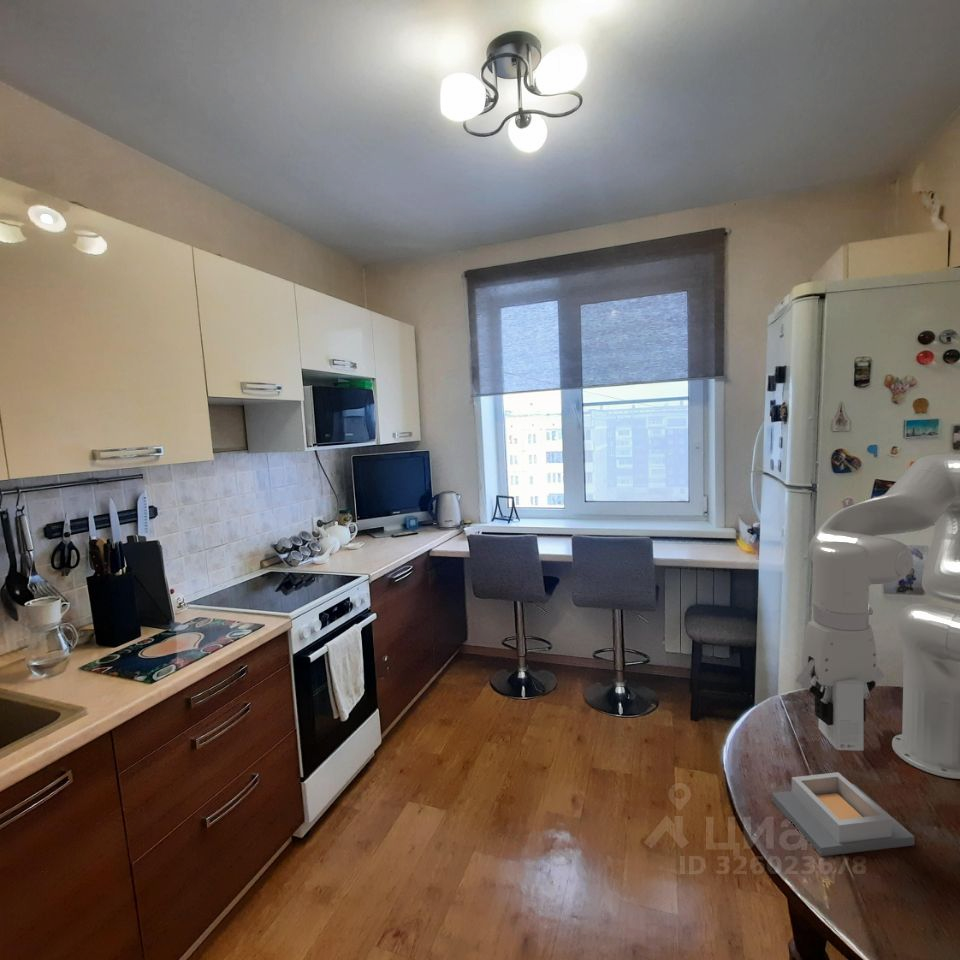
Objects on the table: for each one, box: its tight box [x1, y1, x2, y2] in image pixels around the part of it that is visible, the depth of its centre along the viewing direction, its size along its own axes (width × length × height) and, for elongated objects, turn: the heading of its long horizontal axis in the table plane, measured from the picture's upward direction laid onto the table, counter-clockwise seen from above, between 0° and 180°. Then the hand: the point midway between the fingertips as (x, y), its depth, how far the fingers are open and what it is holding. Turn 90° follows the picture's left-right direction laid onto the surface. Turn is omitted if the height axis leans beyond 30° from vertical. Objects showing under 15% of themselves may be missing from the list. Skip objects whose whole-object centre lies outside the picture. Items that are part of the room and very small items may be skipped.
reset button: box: [816, 793, 862, 820], centre depth 85 cm, size 6×8×2 cm
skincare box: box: [818, 679, 865, 752], centre depth 83 cm, size 6×4×12 cm
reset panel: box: [771, 771, 915, 857], centre depth 85 cm, size 16×12×5 cm
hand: (839, 717), depth 83 cm, fingers closed on skincare box, 5 cm apart
